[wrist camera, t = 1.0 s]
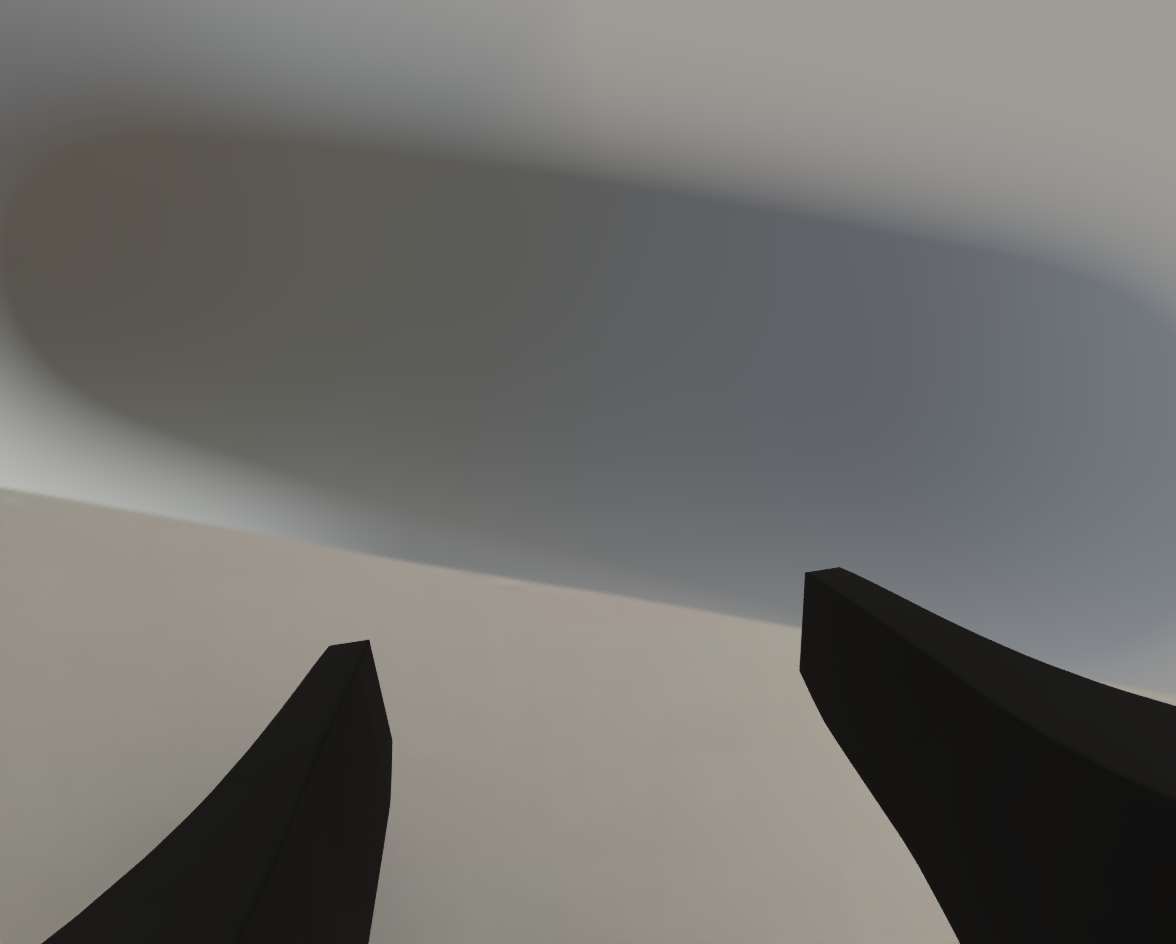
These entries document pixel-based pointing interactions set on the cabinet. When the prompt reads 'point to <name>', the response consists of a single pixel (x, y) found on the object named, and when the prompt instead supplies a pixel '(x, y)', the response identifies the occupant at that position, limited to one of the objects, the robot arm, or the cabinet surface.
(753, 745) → the cabinet surface
